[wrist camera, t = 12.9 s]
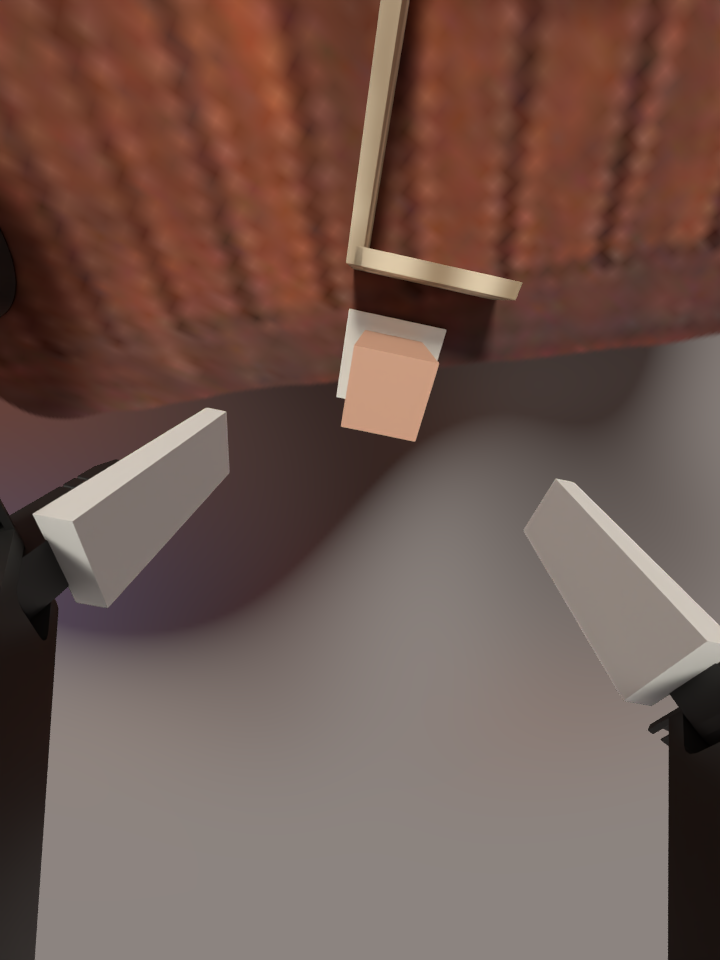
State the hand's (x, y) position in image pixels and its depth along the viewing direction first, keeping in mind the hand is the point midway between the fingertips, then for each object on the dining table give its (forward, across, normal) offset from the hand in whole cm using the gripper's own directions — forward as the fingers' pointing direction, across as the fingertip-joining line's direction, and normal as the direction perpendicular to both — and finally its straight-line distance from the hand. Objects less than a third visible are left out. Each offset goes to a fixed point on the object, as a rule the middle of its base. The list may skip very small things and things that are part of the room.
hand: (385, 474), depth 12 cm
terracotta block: (+24, 0, 0) cm, 24 cm away
